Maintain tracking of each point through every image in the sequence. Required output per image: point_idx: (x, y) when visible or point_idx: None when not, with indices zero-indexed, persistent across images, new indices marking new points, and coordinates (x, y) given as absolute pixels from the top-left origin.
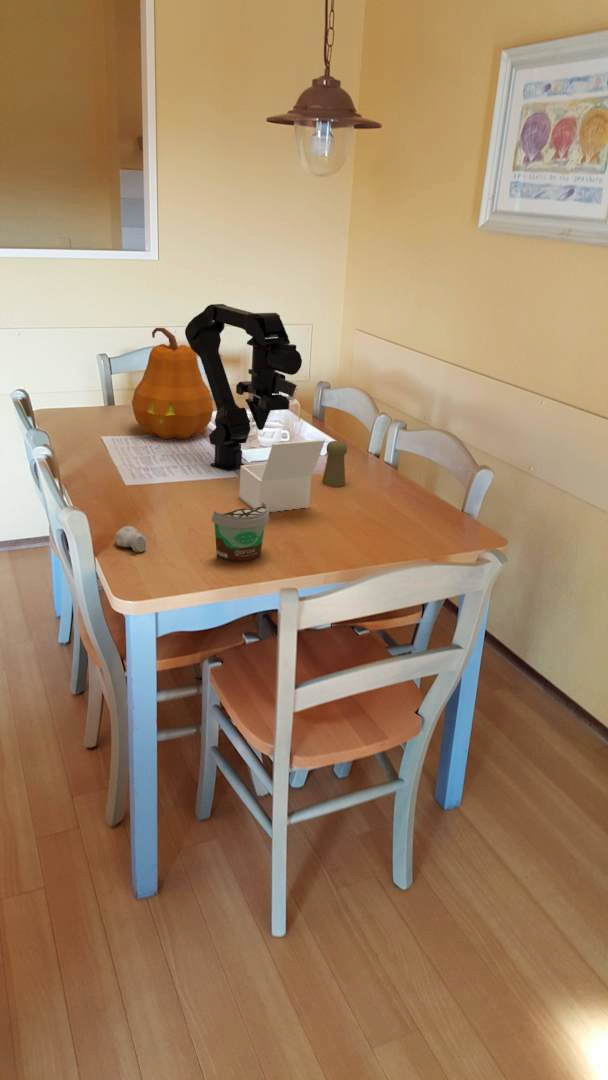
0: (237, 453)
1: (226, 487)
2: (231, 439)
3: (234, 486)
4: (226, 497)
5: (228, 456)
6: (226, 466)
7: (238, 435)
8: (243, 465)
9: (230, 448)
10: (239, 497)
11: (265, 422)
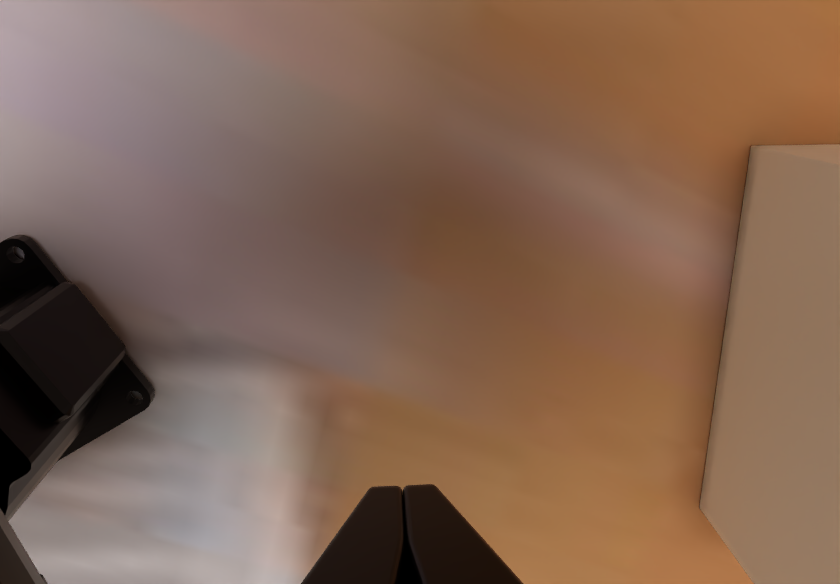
0: (65, 391)
1: (490, 518)
2: (41, 581)
3: (488, 466)
4: (659, 571)
5: (57, 445)
6: (94, 411)
7: (3, 535)
8: (34, 243)
9: (21, 478)
10: (701, 508)
11: (505, 567)
